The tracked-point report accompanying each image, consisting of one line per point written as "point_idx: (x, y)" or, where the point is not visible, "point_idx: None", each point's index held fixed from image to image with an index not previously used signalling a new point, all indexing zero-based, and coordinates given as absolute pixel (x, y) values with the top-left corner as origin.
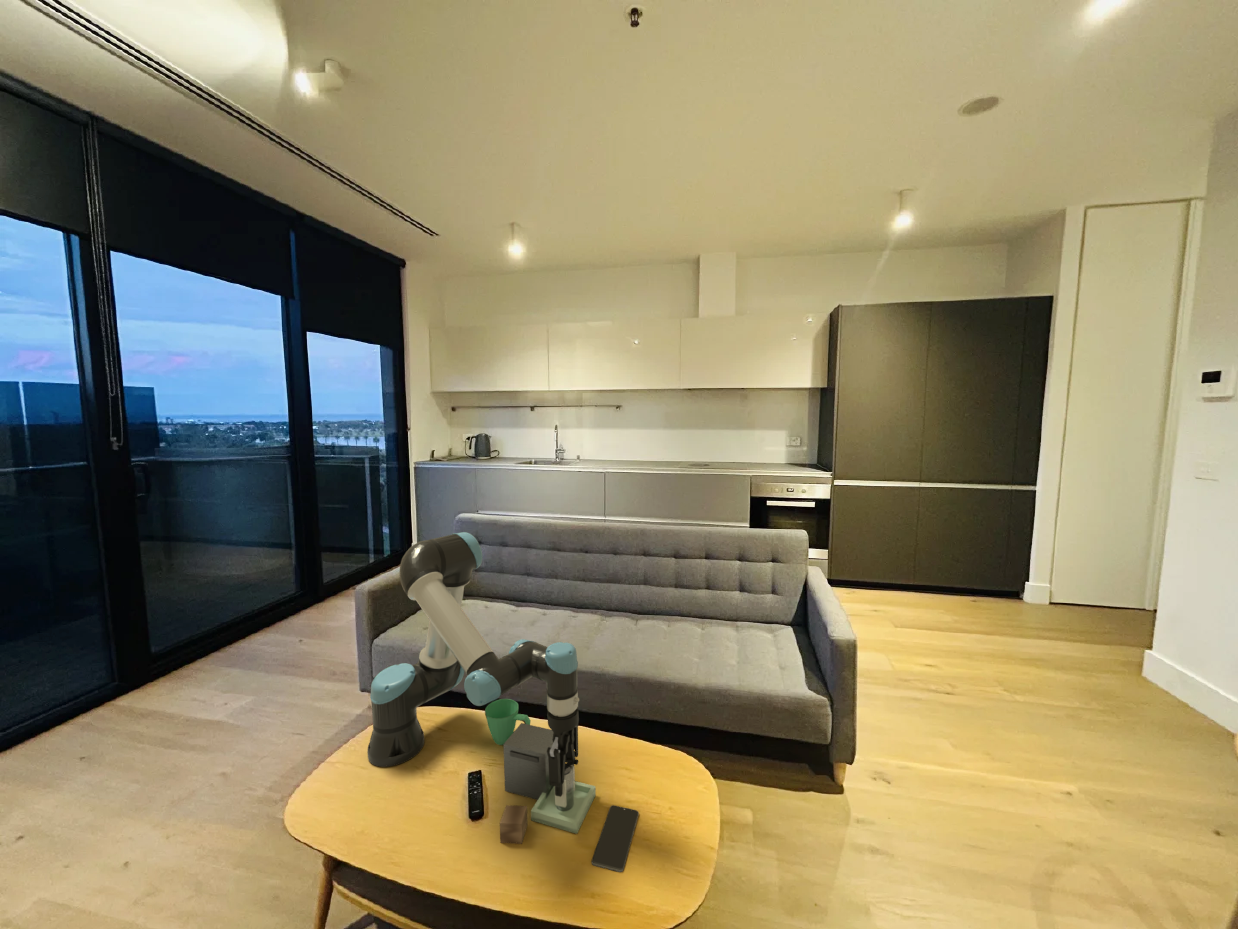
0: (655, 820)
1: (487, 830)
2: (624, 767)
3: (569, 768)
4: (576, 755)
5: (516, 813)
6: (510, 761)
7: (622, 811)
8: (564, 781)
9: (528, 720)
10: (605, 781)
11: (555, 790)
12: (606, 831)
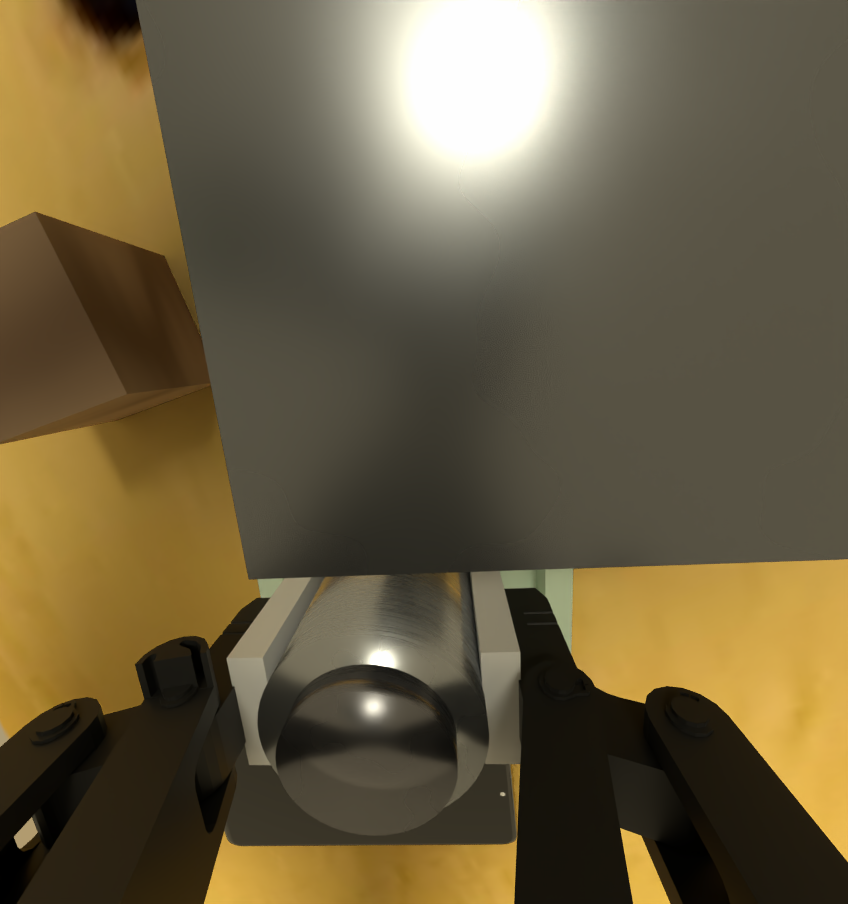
0: (504, 886)
1: (67, 161)
2: (810, 701)
3: (388, 824)
4: (646, 845)
5: (26, 355)
6: None
7: (486, 790)
8: (257, 762)
9: None
10: (671, 644)
11: (222, 638)
12: None
